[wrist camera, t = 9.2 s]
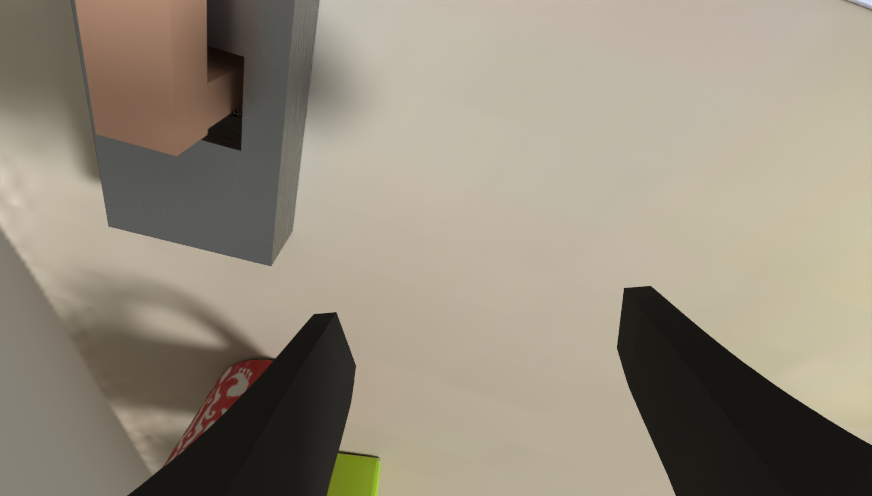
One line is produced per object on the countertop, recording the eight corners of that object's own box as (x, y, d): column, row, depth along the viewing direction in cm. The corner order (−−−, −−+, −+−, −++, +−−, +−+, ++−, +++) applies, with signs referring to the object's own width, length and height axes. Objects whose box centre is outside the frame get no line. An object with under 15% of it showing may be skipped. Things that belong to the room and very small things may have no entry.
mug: (315, 447, 33) (242, 698, 22) (195, 408, 31) (46, 664, 20) (384, 347, 27) (330, 631, 15) (238, 289, 24) (54, 569, 13)
